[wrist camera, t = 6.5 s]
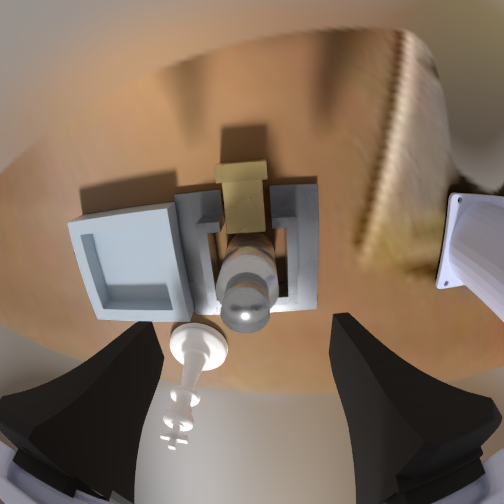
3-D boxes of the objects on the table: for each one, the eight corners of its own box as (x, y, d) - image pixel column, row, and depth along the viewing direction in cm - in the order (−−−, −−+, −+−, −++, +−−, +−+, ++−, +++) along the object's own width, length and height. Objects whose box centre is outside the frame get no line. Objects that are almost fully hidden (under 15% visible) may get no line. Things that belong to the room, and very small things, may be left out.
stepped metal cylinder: (273, 229, 18) (280, 280, 11) (275, 273, 19) (282, 339, 12) (224, 232, 18) (203, 284, 11) (229, 276, 19) (215, 342, 13)
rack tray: (176, 201, 17) (166, 208, 15) (195, 306, 20) (189, 321, 18) (82, 215, 18) (67, 222, 16) (108, 306, 21) (97, 319, 19)
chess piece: (167, 319, 21) (123, 419, 12) (228, 325, 21) (210, 436, 12) (174, 361, 23) (143, 454, 13) (228, 368, 23) (214, 467, 13)
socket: (316, 183, 16) (323, 188, 15) (315, 305, 20) (320, 321, 18) (175, 193, 17) (165, 200, 15) (196, 311, 20) (191, 327, 18)
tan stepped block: (265, 159, 16) (266, 161, 14) (269, 221, 18) (271, 232, 15) (219, 162, 16) (214, 165, 14) (226, 224, 18) (221, 235, 16)
